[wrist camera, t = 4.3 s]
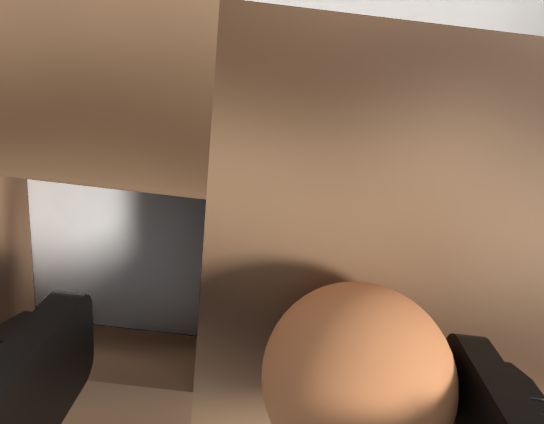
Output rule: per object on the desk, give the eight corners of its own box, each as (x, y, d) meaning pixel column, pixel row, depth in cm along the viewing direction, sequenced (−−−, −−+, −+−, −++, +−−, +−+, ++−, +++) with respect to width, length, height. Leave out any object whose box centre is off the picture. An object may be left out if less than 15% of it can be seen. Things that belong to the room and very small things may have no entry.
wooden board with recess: (-38, -25, 11) (-121, -44, 9) (754, 70, 12) (872, 76, 9) (7, 418, 16) (-40, 481, 14) (572, 480, 16) (620, 553, 14)
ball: (474, 273, 10) (301, 237, 11) (488, 390, 7) (235, 321, 8) (438, 415, 12) (287, 370, 13) (435, 575, 8) (226, 492, 9)
